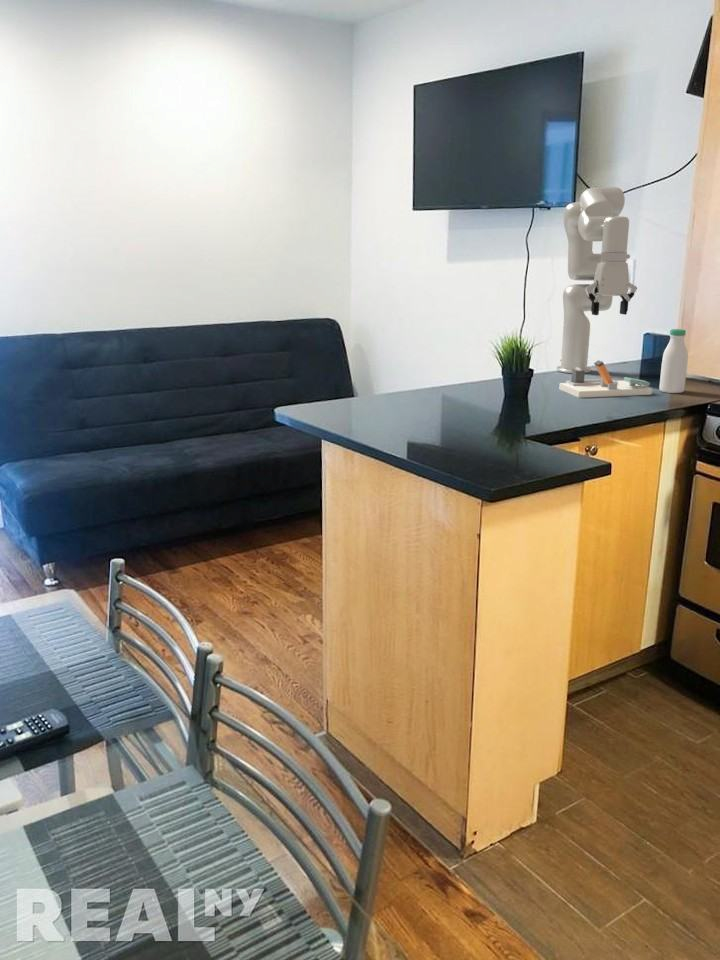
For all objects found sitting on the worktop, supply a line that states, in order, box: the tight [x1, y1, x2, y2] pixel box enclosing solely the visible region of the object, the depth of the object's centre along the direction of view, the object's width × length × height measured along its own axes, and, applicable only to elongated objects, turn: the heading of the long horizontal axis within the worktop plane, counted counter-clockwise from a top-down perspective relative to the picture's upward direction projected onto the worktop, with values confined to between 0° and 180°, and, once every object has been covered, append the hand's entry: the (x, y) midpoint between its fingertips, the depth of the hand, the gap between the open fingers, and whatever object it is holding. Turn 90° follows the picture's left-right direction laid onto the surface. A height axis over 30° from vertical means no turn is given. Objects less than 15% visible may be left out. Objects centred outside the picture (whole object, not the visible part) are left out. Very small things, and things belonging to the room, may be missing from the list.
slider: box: [571, 367, 586, 383], centre depth 267 cm, size 3×3×5 cm
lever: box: [593, 359, 613, 385], centre depth 260 cm, size 4×2×8 cm
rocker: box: [623, 376, 651, 387], centre depth 262 cm, size 6×7×1 cm
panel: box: [558, 378, 653, 399], centre depth 265 cm, size 15×25×4 cm, turn 100°
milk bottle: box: [658, 328, 689, 394], centre depth 263 cm, size 8×8×20 cm
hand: (609, 314), depth 257 cm, fingers open, 9 cm apart
